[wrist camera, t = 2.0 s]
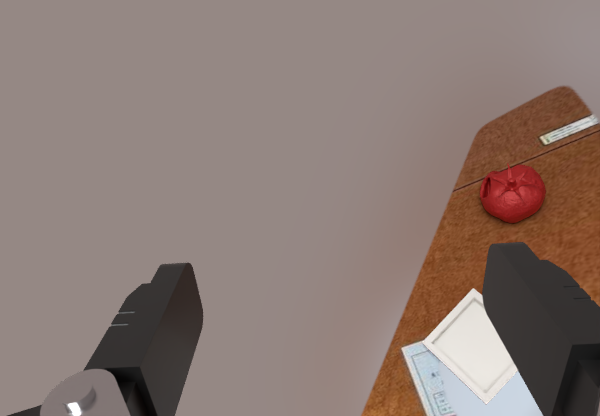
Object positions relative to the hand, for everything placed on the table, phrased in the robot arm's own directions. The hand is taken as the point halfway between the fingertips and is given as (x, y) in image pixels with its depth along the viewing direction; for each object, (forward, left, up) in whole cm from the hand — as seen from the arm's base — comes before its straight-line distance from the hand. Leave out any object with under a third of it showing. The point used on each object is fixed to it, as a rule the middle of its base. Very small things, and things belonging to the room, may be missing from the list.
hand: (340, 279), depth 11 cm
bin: (+1, -7, -64) cm, 65 cm away
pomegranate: (+13, -30, -65) cm, 73 cm away
